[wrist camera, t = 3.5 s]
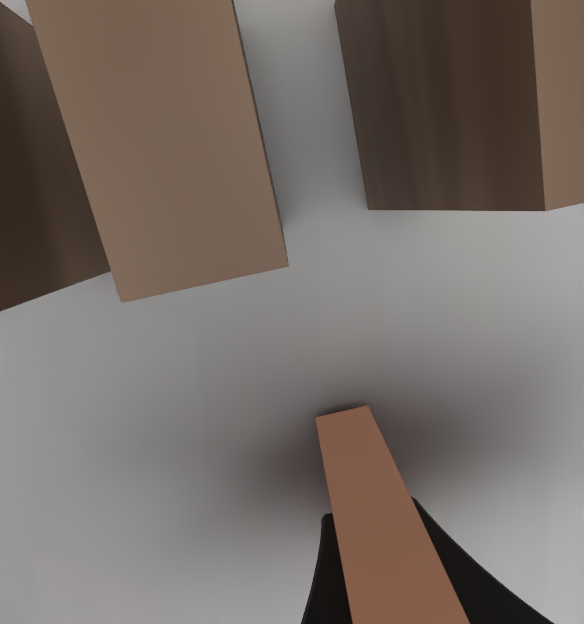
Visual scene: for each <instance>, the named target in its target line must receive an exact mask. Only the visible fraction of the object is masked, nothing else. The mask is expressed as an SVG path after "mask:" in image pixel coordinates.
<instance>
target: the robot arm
mask: <svg viewBox="0 0 584 624" xmlns="http://www.w3.org/2000/svg"><path fill="white" fill-rule="evenodd" d="M411 498H412V500H413V503H414V505H415V507H416V509H417V511H418V513H419V515H420V518H421V520H422V522H423V524H424V526H425V528H426V530H427V533H428V535H429V537H430V539H431V541H432V543H433V546H434V548H435V550H436V552H437V554H438V556H439V558H440V561H441V563H442V565H443V567H444V569H445V571H446V573H447V576H448V578H449V580H450V582H451V584H452V586H453V588H454V591H455V593H456V595H457V597H458V599H459V601H460V604H461V606H462V608H463V610H464V612H465V614H466V616H467V619H468V621H469V623H470V624H554V623H553V622H551V621H550V620H548V619H547V618H545V617H544V616H543V615H541V614H540V613H539V612H537V611H536V610H535V609H533V608H532V607H531V606H529V605H528V604H527V603H525V602H524V601H523V600H521V599H520V598H519V597H517V596H516V595H515V594H514V593H512V592H511V591H510V590H509V589H507V588H506V587H505V586H504V585H503V584H501V583H500V582H499V581H498V580H497V579H495V578H494V577H493V576H492V575H491V574H490V573H488V572H487V571H486V570H485V569H484V568H483V567H482V566H480V565H479V564H478V563H477V562H476V561H475V560H474V559H473V558H472V557H471V556H470V555H468V554H467V553H466V552H465V551H464V550H463V549H462V548H461V547H460V546H459V545H458V544H457V543H456V542H455V541H454V540H453V539H452V538H451V537H450V536H449V535H448V534H447V533H446V532H445V531H444V530H443V529H442V528H441V527H440V526H439V525H438V524H437V523H436V522H435V521H434V520H433V519H432V517H431V516H430V515H429V514H428V513H427V512H426V511H425V510H424V508H423V507H422V506H421V505H420V504H419V502H418V501H417V500H416V499H415V498H413V497H411ZM321 523H322V526H321V539H320V546H319V552H318V558H317V563H316V568H315V573H314V577H313V582H312V586H311V590H310V594H309V597H308V601H307V605H306V608H305V612H304V615H303V619H302V622H301V624H353V622H352V616H351V611H350V605H349V600H348V594H347V589H346V583H345V578H344V573H343V567H342V562H341V556H340V551H339V545H338V540H337V534H336V529H335V523H334V518H333V513H330V514H325V515H324V516H323V518H322V519H321Z"/></svg>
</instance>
